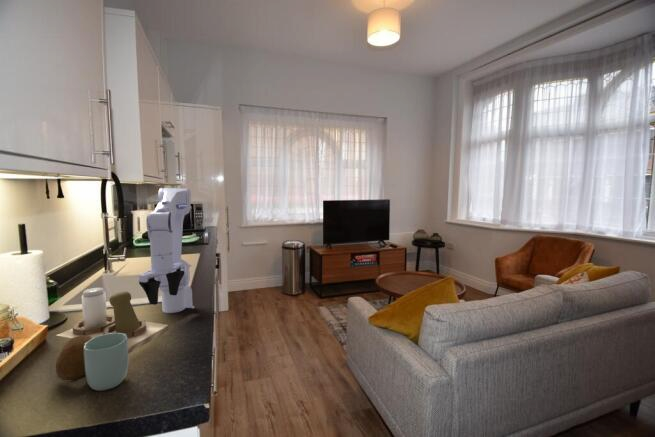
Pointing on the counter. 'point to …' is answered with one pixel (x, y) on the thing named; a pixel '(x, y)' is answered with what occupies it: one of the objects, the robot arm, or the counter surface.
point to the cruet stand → (133, 336)
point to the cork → (124, 312)
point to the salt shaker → (94, 308)
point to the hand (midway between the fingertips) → (163, 299)
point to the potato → (72, 359)
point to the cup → (106, 360)
